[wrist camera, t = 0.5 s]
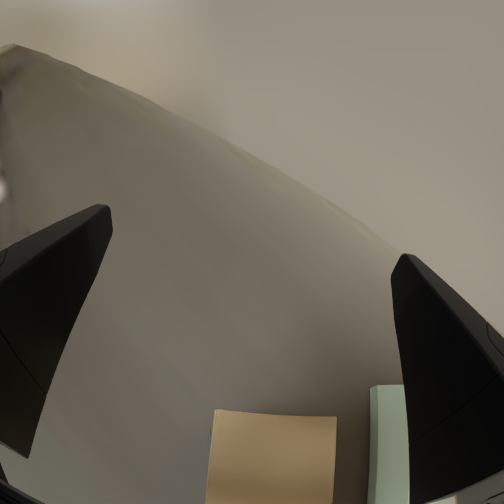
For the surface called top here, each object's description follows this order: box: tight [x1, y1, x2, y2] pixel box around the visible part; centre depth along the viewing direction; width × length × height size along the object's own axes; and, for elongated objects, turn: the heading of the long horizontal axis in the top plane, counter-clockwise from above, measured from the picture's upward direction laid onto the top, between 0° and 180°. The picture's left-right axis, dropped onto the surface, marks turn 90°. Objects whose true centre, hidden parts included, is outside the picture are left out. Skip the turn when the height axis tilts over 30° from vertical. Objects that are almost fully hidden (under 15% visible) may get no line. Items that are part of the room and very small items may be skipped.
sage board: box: [367, 385, 455, 504], centre depth 17 cm, size 18×18×1 cm
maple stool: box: [205, 409, 337, 504], centre depth 14 cm, size 10×6×7 cm, turn 176°
